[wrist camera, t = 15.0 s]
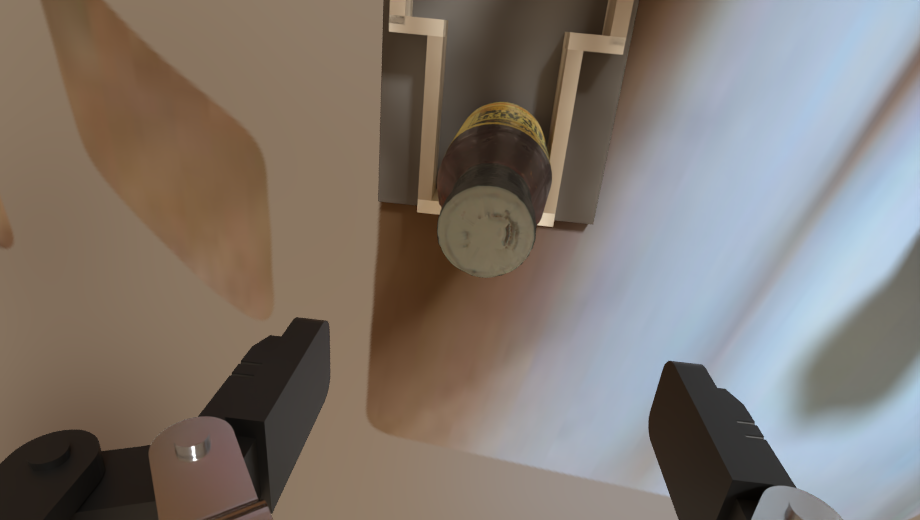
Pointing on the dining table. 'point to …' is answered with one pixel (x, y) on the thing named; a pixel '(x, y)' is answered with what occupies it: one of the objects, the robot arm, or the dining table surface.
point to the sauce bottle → (493, 190)
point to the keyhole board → (502, 88)
